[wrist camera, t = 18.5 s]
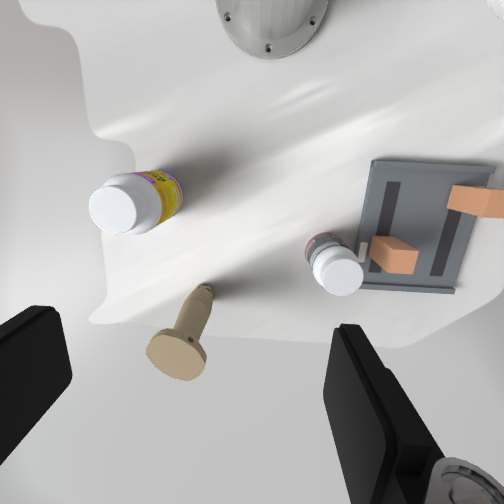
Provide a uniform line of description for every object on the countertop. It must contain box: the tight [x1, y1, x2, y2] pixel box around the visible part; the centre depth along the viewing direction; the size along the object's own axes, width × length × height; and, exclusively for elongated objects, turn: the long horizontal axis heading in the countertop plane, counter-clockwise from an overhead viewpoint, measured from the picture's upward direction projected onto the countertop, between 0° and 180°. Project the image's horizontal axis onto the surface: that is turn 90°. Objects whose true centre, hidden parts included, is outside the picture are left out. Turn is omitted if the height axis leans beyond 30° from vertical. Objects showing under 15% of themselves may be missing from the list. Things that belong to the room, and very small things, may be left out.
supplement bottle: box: [89, 171, 183, 235], centre depth 32 cm, size 7×7×13 cm
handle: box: [146, 285, 214, 381], centre depth 35 cm, size 5×6×15 cm
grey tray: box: [355, 161, 496, 294], centre depth 37 cm, size 18×15×2 cm
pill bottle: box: [305, 233, 364, 296], centre depth 35 cm, size 6×6×10 cm
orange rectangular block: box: [368, 236, 419, 274], centre depth 35 cm, size 3×3×6 cm
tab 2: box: [446, 185, 504, 218], centre depth 32 cm, size 3×3×6 cm
